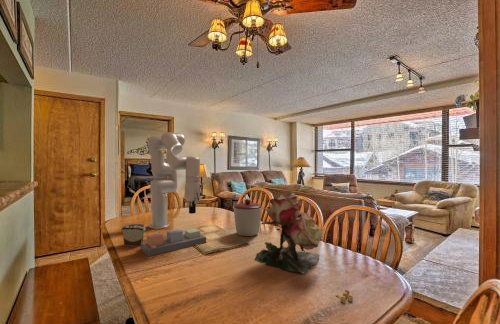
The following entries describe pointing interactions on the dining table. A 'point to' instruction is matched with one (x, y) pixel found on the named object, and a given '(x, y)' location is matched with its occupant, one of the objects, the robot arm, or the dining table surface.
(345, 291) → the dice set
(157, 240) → the button terracotta
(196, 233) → the button sage
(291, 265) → the rose bouquet
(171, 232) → the button blue
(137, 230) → the grey rimmed container
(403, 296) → the dining table surface
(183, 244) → the console
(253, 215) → the canister
